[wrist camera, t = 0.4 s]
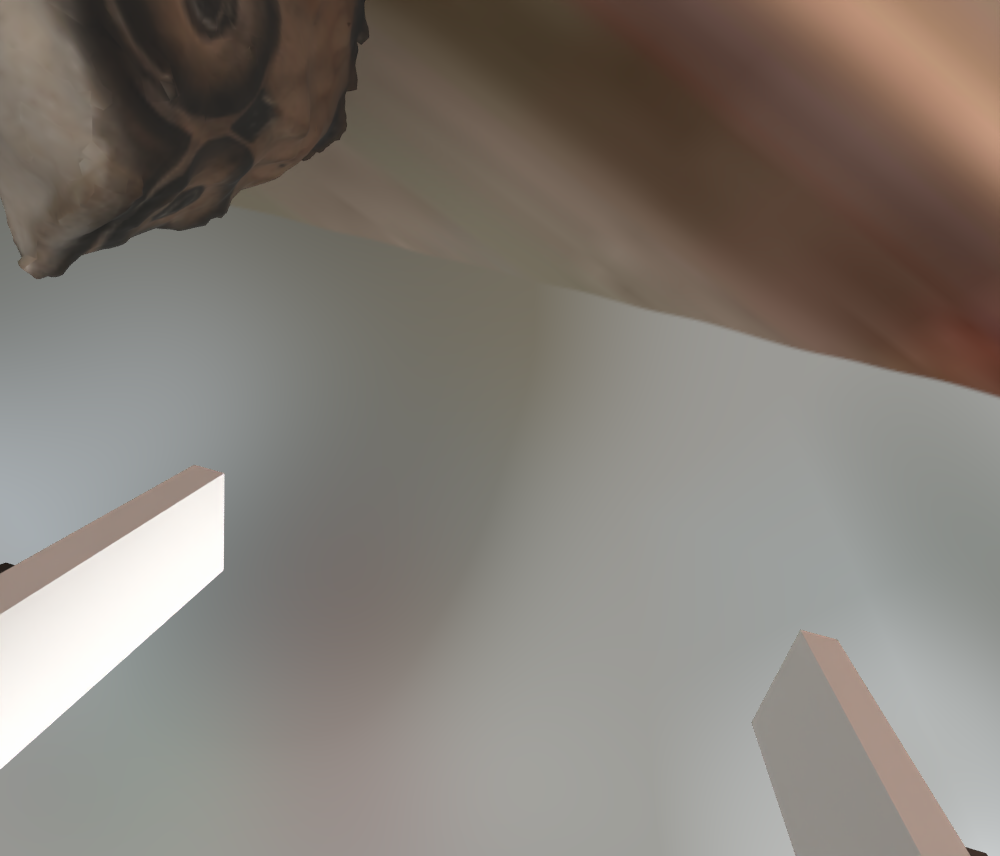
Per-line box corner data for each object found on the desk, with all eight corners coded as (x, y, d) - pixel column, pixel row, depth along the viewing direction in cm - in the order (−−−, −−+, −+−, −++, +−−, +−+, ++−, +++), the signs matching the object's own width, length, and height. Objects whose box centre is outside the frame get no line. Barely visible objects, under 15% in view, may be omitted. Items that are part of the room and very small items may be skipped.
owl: (353, -131, 26) (-70, -383, 10) (427, 150, 33) (247, 259, 17) (154, -49, 29) (-387, -142, 14) (260, 189, 36) (-15, 308, 21)
